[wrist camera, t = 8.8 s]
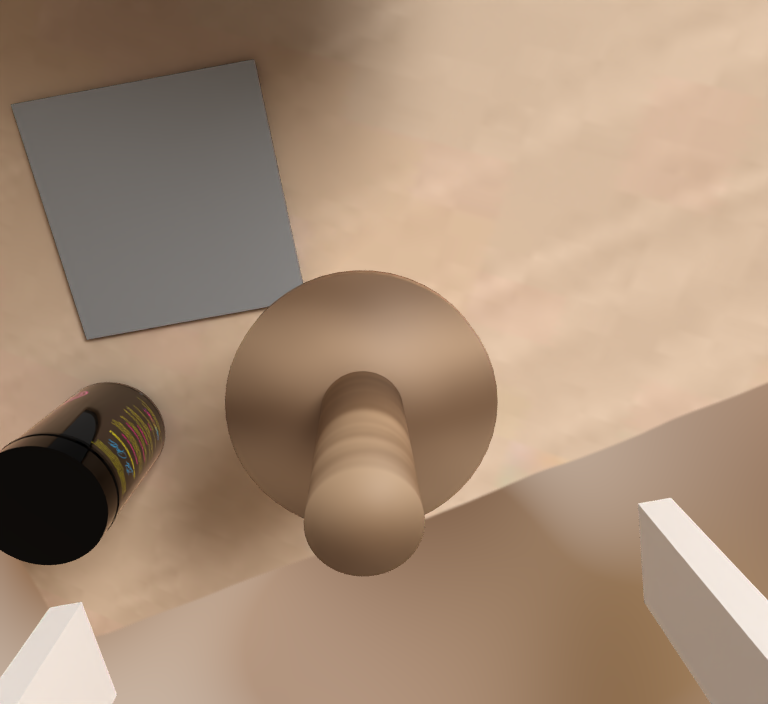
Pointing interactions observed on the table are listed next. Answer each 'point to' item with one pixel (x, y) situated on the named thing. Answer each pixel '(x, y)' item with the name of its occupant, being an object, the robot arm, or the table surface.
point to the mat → (163, 198)
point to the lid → (361, 412)
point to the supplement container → (76, 472)
